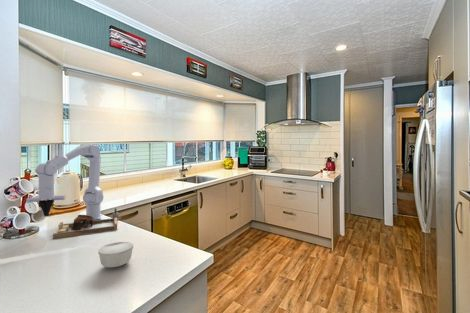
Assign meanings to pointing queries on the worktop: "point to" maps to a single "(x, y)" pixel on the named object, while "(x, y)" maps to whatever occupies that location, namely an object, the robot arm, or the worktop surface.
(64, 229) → the beige wooden block
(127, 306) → the worktop surface
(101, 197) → the robot arm
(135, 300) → the worktop surface
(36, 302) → the worktop surface
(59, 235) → the wooden frame
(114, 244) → the ramekin
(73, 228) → the pottery mug
